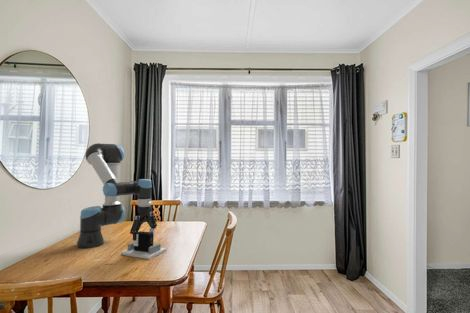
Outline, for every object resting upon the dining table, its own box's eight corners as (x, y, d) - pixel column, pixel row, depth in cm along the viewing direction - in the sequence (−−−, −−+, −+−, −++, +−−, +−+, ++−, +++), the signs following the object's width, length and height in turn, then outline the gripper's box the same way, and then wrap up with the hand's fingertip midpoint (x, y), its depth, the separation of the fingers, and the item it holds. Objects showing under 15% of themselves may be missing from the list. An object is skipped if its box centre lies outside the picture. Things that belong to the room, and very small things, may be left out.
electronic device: (149, 252, 155) (149, 234, 155) (133, 250, 158) (134, 232, 158) (153, 249, 159) (153, 232, 159) (138, 248, 162) (138, 231, 162)
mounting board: (120, 254, 156) (121, 245, 156) (139, 246, 170) (139, 238, 170) (149, 259, 148) (149, 249, 149) (166, 250, 162) (166, 242, 162)
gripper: (134, 209, 147) (133, 249, 146) (163, 203, 170) (162, 237, 170) (123, 208, 150) (122, 247, 149) (153, 202, 173) (152, 236, 172)
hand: (143, 242), depth 159 cm, fingers open, 13 cm apart
